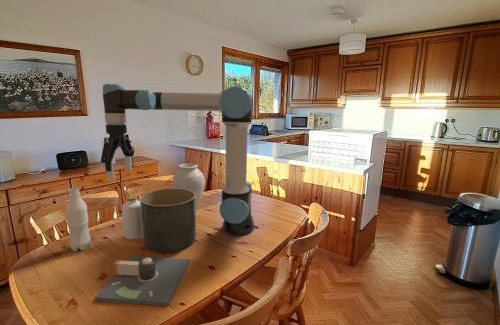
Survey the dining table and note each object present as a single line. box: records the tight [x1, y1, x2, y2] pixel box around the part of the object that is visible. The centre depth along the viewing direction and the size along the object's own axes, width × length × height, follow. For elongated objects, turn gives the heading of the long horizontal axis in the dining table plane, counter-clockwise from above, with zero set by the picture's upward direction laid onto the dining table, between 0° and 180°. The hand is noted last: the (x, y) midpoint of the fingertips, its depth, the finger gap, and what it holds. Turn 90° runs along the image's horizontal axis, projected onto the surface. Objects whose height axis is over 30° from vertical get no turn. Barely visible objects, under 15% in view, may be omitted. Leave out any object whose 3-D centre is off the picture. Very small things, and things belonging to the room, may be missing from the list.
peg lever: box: [113, 258, 156, 280], centre depth 86 cm, size 13×5×6 cm, turn 86°
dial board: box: [94, 255, 191, 307], centre depth 86 cm, size 22×22×1 cm
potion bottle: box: [121, 195, 143, 241], centre depth 113 cm, size 8×8×18 cm
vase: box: [171, 162, 206, 207], centre depth 146 cm, size 18×18×25 cm
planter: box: [139, 187, 197, 254], centre depth 110 cm, size 22×22×20 cm
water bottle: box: [64, 187, 92, 252], centre depth 101 cm, size 7×7×25 cm
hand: (120, 174), depth 109 cm, fingers open, 13 cm apart
